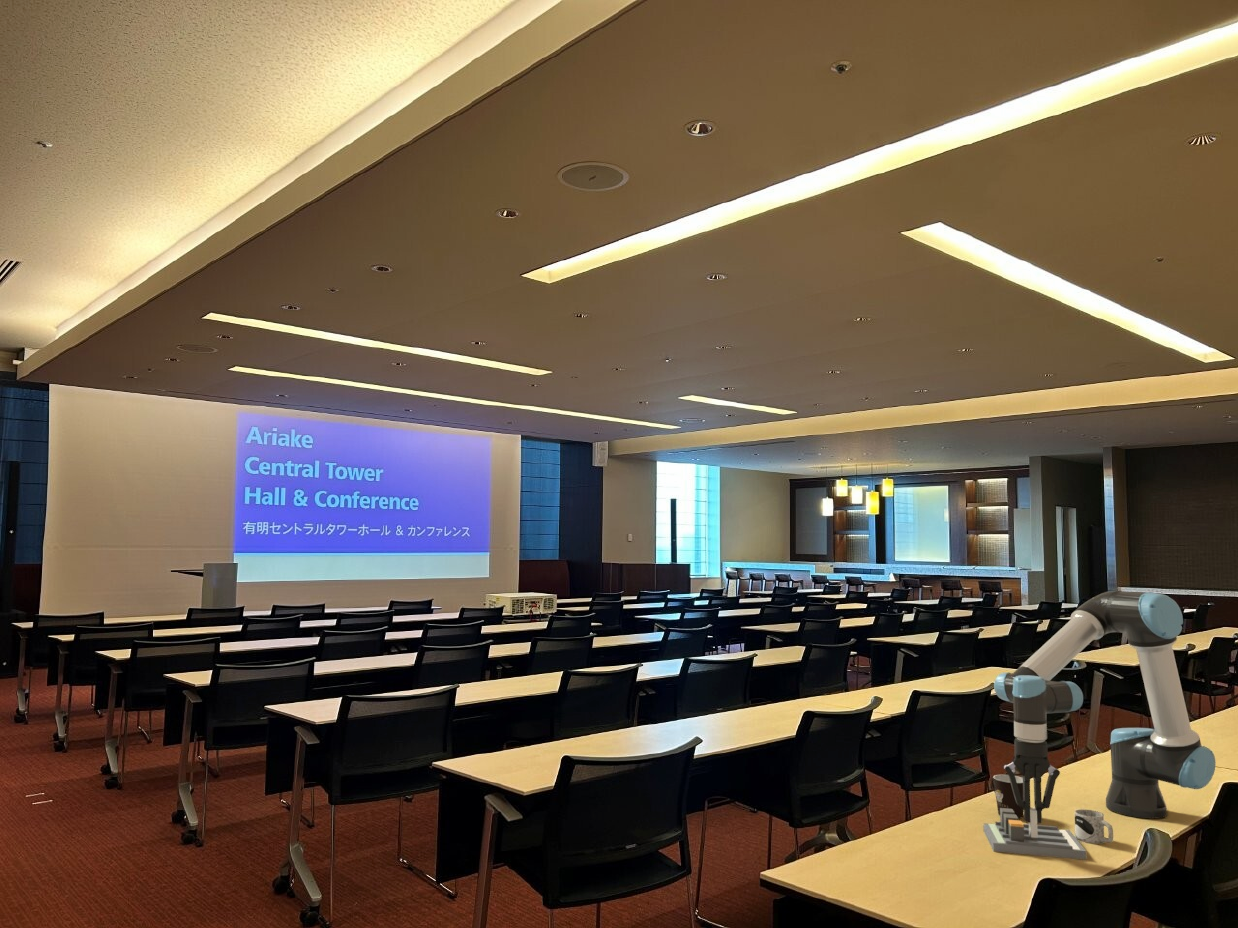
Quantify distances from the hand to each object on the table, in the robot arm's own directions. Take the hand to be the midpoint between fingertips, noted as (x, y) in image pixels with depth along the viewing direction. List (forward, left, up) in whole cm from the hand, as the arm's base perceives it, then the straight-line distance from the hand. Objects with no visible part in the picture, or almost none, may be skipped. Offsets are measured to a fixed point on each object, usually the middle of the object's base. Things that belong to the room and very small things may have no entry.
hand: (1033, 835), depth 221 cm
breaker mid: (+4, -5, -2) cm, 7 cm away
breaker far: (+4, -10, -2) cm, 11 cm away
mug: (-17, -12, -4) cm, 21 cm away
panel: (-1, -5, -4) cm, 6 cm away
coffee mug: (0, -31, -4) cm, 31 cm away
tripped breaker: (+4, 0, -2) cm, 4 cm away
